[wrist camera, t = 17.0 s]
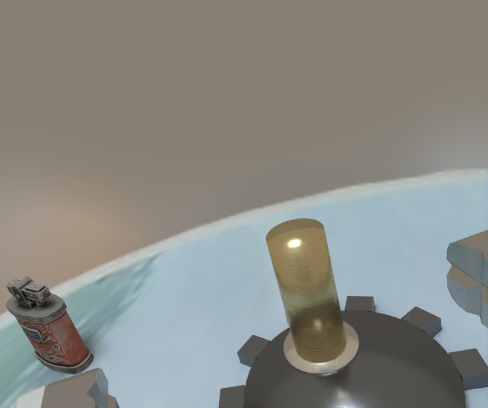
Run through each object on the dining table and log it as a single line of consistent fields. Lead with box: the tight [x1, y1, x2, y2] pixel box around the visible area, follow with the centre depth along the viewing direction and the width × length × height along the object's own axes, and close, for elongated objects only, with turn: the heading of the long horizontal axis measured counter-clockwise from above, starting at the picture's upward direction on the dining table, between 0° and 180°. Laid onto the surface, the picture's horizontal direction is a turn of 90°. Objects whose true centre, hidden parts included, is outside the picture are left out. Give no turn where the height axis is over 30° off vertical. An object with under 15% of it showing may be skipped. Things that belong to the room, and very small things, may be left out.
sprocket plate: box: [219, 296, 488, 408], centre depth 32 cm, size 20×20×1 cm
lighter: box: [6, 277, 94, 374], centre depth 43 cm, size 8×3×10 cm, turn 59°
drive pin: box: [266, 218, 347, 363], centre depth 34 cm, size 4×4×11 cm
